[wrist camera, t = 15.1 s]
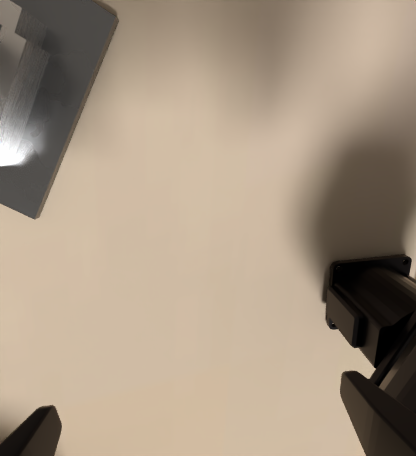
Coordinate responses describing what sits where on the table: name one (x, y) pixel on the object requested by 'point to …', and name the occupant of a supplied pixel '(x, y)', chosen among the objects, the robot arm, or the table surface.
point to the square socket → (44, 89)
